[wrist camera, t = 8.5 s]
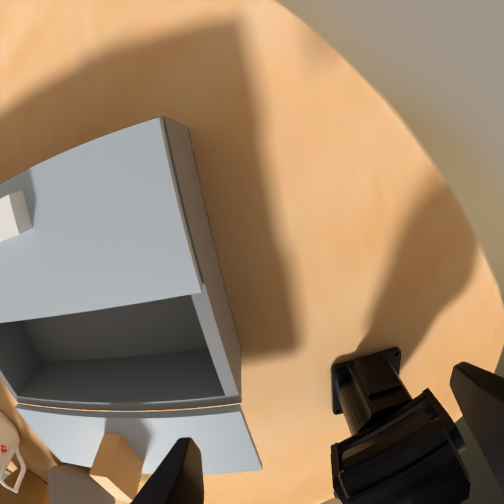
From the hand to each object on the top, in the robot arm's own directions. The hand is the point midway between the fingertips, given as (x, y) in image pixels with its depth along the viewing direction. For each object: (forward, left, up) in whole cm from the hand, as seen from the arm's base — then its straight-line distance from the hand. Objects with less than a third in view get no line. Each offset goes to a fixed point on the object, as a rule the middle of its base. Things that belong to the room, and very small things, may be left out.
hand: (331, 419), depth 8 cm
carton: (+2, +14, -13) cm, 19 cm away
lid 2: (-10, +14, -7) cm, 18 cm away
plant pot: (-37, +54, -13) cm, 67 cm away
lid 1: (+6, +14, -7) cm, 17 cm away
